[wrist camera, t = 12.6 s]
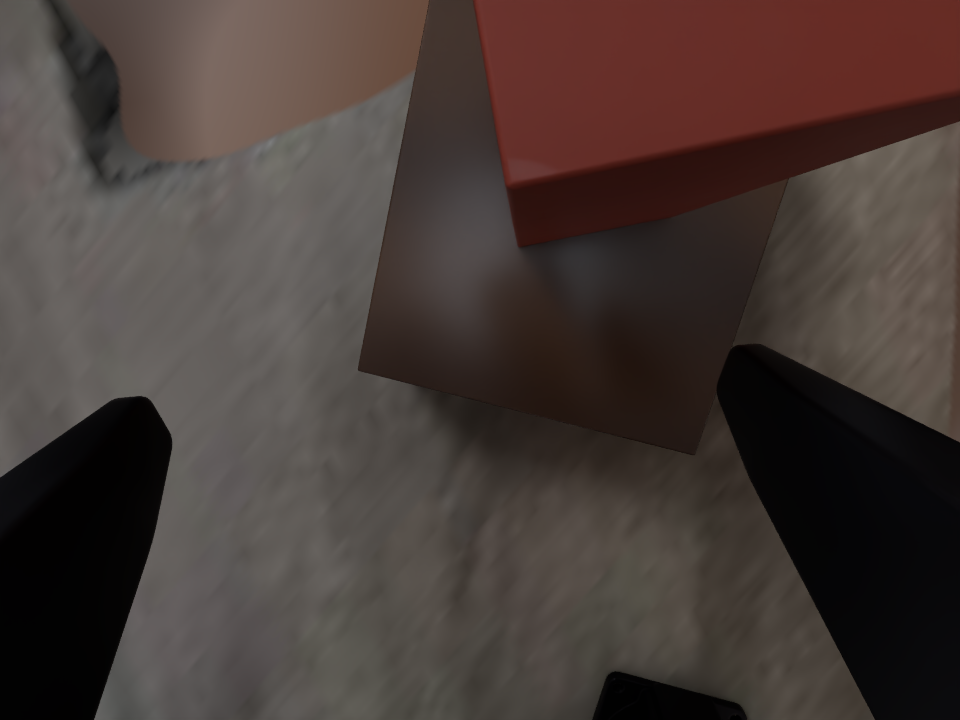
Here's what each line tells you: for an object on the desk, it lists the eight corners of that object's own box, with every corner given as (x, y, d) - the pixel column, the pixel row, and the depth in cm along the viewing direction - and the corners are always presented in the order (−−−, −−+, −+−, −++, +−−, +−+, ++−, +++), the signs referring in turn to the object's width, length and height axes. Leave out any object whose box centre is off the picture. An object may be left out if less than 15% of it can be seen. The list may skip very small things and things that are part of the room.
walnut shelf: (660, 418, 22) (695, 456, 17) (389, 350, 22) (356, 371, 18) (762, 98, 19) (834, 47, 15) (455, 28, 20) (436, -41, 15)
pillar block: (674, 216, 16) (1174, 50, 4) (517, 247, 17) (506, 190, 4) (653, 47, 15) (1200, -868, 3) (489, 85, 16) (376, -553, 4)
